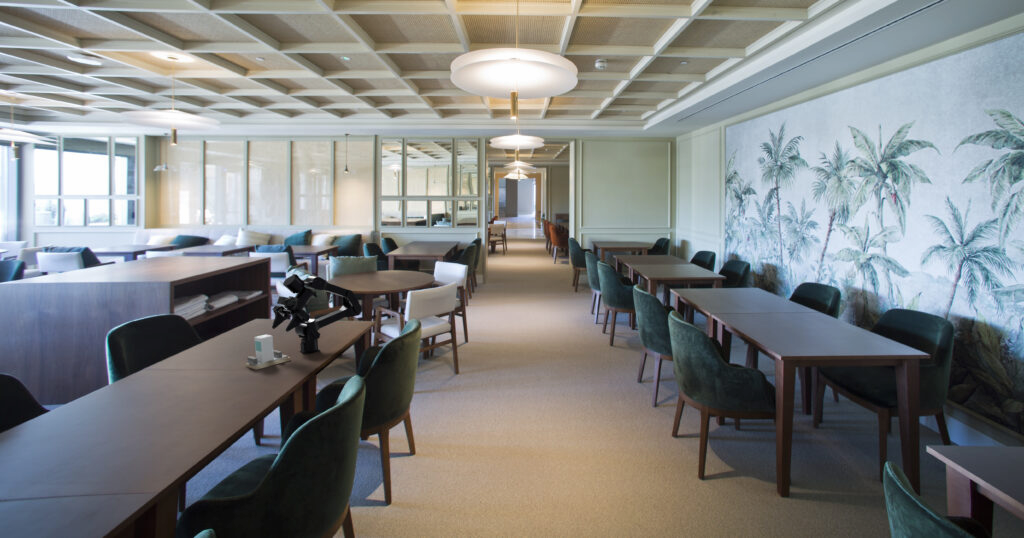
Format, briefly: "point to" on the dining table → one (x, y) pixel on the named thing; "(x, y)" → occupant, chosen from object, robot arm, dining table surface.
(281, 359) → the rail board
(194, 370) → the dining table surface
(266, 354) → the block
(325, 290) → the robot arm
